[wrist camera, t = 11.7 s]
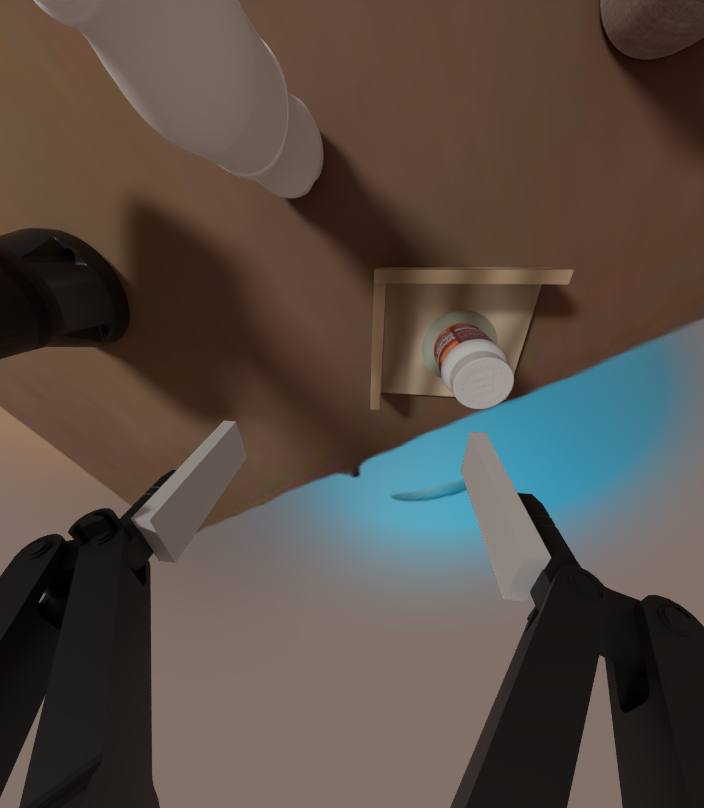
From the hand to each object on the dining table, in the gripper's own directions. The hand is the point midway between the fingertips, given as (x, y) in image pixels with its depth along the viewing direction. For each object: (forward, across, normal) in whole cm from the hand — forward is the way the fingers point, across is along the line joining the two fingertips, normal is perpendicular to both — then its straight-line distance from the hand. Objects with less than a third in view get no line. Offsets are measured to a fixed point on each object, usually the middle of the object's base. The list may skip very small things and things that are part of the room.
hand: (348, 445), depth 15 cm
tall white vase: (+24, -8, +18) cm, 31 cm away
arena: (+23, +10, 0) cm, 25 cm away
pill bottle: (+22, +11, -1) cm, 25 cm away
